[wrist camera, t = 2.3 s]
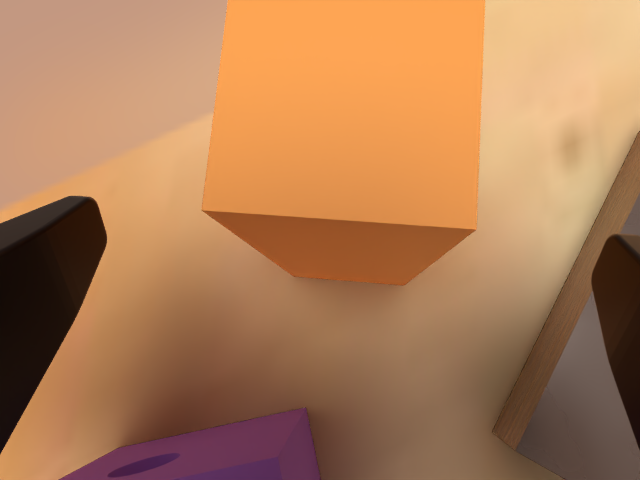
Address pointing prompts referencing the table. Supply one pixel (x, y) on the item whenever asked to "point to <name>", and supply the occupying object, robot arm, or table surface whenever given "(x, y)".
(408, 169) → the tall orange pillar
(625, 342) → the robot arm
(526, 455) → the slotted square tile
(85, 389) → the table surface
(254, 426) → the bracket
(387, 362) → the table surface
